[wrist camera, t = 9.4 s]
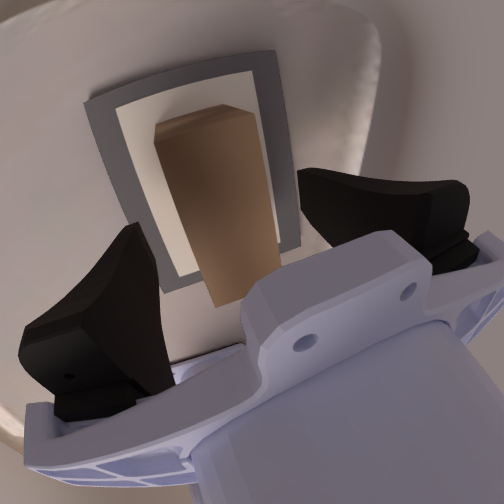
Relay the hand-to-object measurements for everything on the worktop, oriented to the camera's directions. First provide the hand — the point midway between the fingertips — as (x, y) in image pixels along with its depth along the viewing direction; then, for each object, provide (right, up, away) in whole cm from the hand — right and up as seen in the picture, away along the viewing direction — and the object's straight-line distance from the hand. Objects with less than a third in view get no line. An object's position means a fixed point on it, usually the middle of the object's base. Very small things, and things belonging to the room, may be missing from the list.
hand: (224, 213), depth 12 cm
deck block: (-1, +2, +3) cm, 4 cm away
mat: (-1, +3, +3) cm, 5 cm away
